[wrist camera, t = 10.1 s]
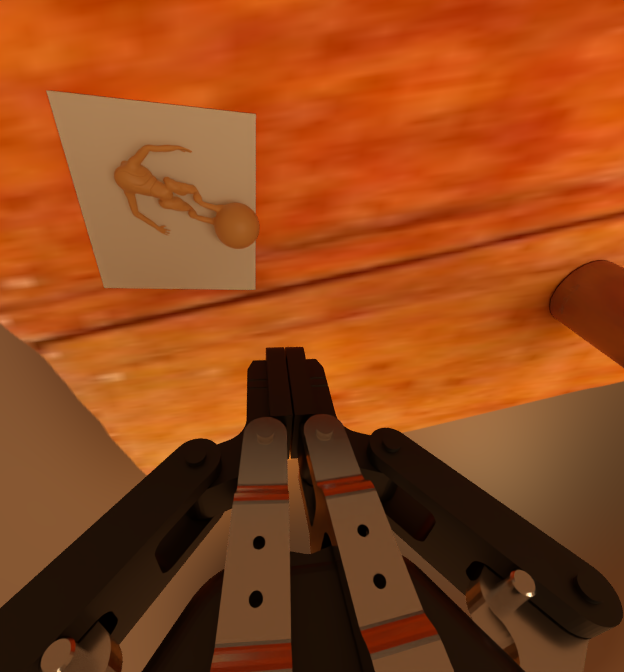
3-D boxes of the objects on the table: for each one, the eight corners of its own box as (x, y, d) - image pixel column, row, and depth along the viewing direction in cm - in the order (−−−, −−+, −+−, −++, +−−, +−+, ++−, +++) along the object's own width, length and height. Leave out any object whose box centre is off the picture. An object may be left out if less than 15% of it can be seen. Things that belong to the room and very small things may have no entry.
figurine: (282, 193, 29) (159, 106, 27) (256, 216, 24) (106, 113, 22) (248, 262, 34) (143, 193, 32) (221, 292, 30) (97, 213, 28)
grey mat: (255, 113, 27) (255, 114, 27) (255, 286, 37) (255, 289, 36) (51, 90, 25) (46, 90, 24) (106, 284, 34) (104, 287, 33)
